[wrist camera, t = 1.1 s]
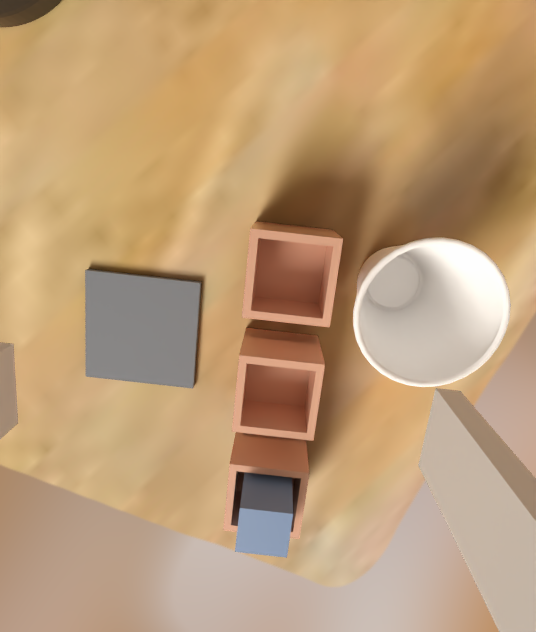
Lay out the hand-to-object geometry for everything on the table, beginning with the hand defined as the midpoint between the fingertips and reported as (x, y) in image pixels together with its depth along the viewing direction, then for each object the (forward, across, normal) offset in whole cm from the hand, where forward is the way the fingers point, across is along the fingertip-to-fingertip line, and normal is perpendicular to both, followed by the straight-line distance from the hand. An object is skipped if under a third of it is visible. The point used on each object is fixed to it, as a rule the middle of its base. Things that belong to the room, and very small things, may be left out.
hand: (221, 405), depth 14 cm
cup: (+26, +12, 0) cm, 29 cm away
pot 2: (+26, +2, -9) cm, 28 cm away
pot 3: (+26, +3, -19) cm, 32 cm away
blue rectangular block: (+24, +3, -19) cm, 30 cm away
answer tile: (+26, -10, -7) cm, 29 cm away
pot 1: (+26, +2, 0) cm, 26 cm away
